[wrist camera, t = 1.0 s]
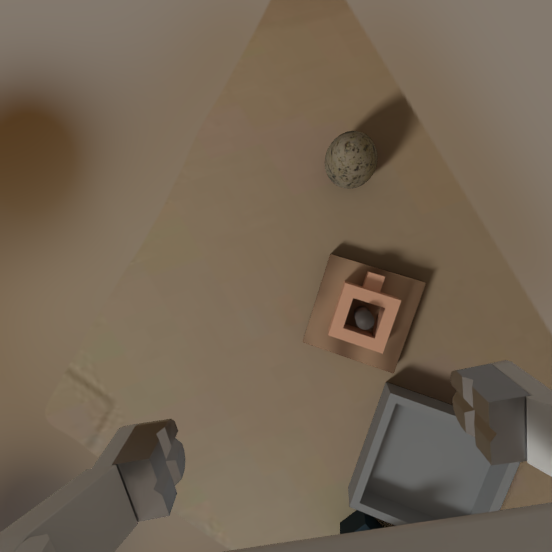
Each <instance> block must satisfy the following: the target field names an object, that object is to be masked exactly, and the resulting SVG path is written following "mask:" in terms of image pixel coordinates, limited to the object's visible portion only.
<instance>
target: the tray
mask: <svg viewBox="0 0 552 552" xmlns="http://www.w3.org/2000/svg"><path fill="white" fill-rule="evenodd" d="M519 464H520V462H515V463H507V464H499V465H491V464H490V463H489V461H488V460H487V459H486V458H485V456H484V455H483V454H482V453H481V451H480V450H479V449H478V448H477V446H476V442H475V437H473V436H471V435H469V434H467V433H466V432H465V431H464V430H463V428H462V427H461V426H460V424H459V422H458V420H457V418H456V415H455V412H454V409H453V405H451V404H448V403H445V402H442V401H439V400H436V399H433V398H431V397H428V396H425V395H422V394H419V393H416V392H413V391H411V390H408V389H405V388H402V387H399V386H396V385H394V384H391V383H388V382H386V383H385V386H384V389H383V392H382V395H381V397H380V400H379V403H378V406H377V409H376V411H375V414H374V417H373V420H372V423H371V425H370V428H369V431H368V434H367V437H366V439H365V442H364V445H363V448H362V451H361V453H360V456H359V459H358V462H357V465H356V467H355V470H354V473H353V476H352V479H351V481H350V484H349V487H348V491H349V507H351V508H354V509H356V510H359V511H361V512H363V513H366V514H368V515H371V516H373V517H376V518H378V519H380V520H383V521H385V522H388V523H390V524H393V525H395V526H399V525H406V524H412V523H419V522H426V521H432V520H439V519H446V518H452V517H459V516H466V515H472V514H479V513H486V512H492V511H499V510H500V508H501V506H502V504H503V501H504V499H505V497H506V494H507V492H508V489H509V487H510V485H511V482H512V480H513V478H514V475H515V473H516V471H517V468H518V466H519Z"/></svg>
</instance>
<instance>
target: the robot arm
mask: <svg viewBox="0 0 552 552" xmlns="http://www.w3.org/2000/svg"><path fill="white" fill-rule="evenodd" d="M451 385H452V386H453V387H454V388H455V389H456V390H457V391H456V393H455V394H454V396H453V398H452V401H453V409H454V412H455V415H456V418H457V420H458V422H459V424H460V426H461V427H462V428H463V430H464V431H465V432H466V433H467V434H469V435H471V436H473V437H475V442H476V446H477V448H478V449H479V450H480V451H481V453H482V454H483V455H484V456H485V458H486V459H487V460H488V461H489V463H490V464H491V465H499V464H507V463H515V462H523V461H527V463H529V464H531V465H532V466H534V467H536V468H538V469H539V470H541V471H543V472H544V473H546V474H548V475H550V476H551V477H552V390H550V389H549V388H548V387H546V386H545V385H543V384H542V383H541V382H539V381H538V380H536V379H535V378H534V377H532V376H531V375H529V374H528V373H527V372H525V371H524V370H522V369H521V368H520V367H518V366H517V365H515V364H514V363H513V362H511V361H507V360H504V361H499V362H494V363H490V364H486V365H481V366H476V367H471V368H465V369H460V370H455V371H452V372H451ZM177 432H178V429H177V426H176V424H175V421H174V420H172V419H166V420H159V421H153V422H146V423H140V424H133V425H127V426H123V427H121V428H119V429H118V431H117V432H116V434H115V435H114V437H113V438H112V440H111V441H110V443H109V444H108V446H107V447H106V448H105V450H104V451H103V453H102V454H101V456H100V457H99V459H98V460H97V462H96V463H95V465H94V466H93V468H92V469H88V470H85V471H84V472H82V473H81V474H80V475H78V476H77V477H76V478H74V479H73V480H72V481H70V482H69V483H67V484H66V485H65V486H63V487H62V488H61V489H59V490H58V491H56V492H55V493H54V494H52V495H51V496H50V497H48V498H47V499H46V500H44V501H43V502H42V503H40V504H39V505H37V506H36V507H35V508H33V509H32V510H30V511H29V512H28V513H26V514H25V515H24V516H22V517H21V518H19V519H18V520H17V521H16V522H14V523H13V524H11V525H10V526H9V527H7V528H6V529H4V530H3V531H2V532H0V552H114V551H115V550H116V549H117V548H118V547H119V545H120V544H121V543H122V542H123V541H124V540H125V539H126V537H127V536H128V535H129V534H130V533H131V531H132V530H133V529H134V528H135V527H136V525H137V524H138V522H139V521H145V520H150V519H155V518H160V517H166V516H169V515H170V512H171V509H172V506H173V503H174V500H175V498H176V495H177V492H176V489H175V485H176V484H177V483H178V482H179V481H180V480H181V479H182V476H183V473H184V469H185V453H184V448H183V445H182V443H181V442H180V441H178V440H177V439H176V438H175V437H176V434H177ZM224 552H552V503H546V504H539V505H532V506H526V507H519V508H512V509H506V510H499V511H492V512H486V513H479V514H472V515H466V516H459V517H452V518H446V519H439V520H432V521H426V522H419V523H412V524H406V525H399V526H392V527H385V528H378V529H372V530H365V531H358V532H351V533H345V534H338V535H331V536H324V537H318V538H311V539H304V540H297V541H291V542H284V543H277V544H270V545H264V546H257V547H250V548H244V549H237V550H231V551H224Z"/></svg>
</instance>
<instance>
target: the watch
mask: <svg viewBox="0 0 552 552" xmlns="http://www.w3.org/2000/svg"><path fill="white" fill-rule="evenodd" d="M378 528H383V527H382V525H381V524H380V523H379V522H378V521H377V520H376V519H375V518H374V517H373V516H371V515H368V514H366V513H363V512H361V511H359V510H357V511H355V512H354V513H353V514H351V515H350V516H349V517H347V518H346V519H345V520H343V521H342V522H341V523H340V534H345V533H351V532H358V531H365V530H372V529H378Z"/></svg>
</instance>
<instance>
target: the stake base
mask: <svg viewBox="0 0 552 552" xmlns="http://www.w3.org/2000/svg"><path fill="white" fill-rule="evenodd" d="M367 271H369V272H372V273H375V274H379V275H382V276H384V277H385V279H384V282H383V285H382V288H381V291H380V292H382V293H385V294H389V295H392V296H395V297H397V298H399V299H400V300H401V303H400V306H399V309H398V312H397V315H396V317H395V320H394V323H393V326H392V329H391V332H390V334H389V337H388V340H387V343H386V346H385V349H384V352H383V354H382V353H379V352H376V351H373V350H370V349H367V348H364V347H361V346H358V345H355V344H352V343H349V342H346V341H344V340H341V339H338V338H335V337H332V336H329V335H328V331H329V327H330V324H331V321H332V318H333V315H334V311H335V308H336V305H337V302H338V299H339V296H340V293H341V290H342V287H343V284H344V281H347V282H350V283H353V284H357V285H360V286H363V283H364V280H365V277H366V274H367ZM425 285H426V283H425V282H422V281H419V280H416V279H412V278H409V277H406V276H402V275H399V274H396V273H392V272H389V271H386V270H382V269H379V268H376V267H372V266H369V265H366V264H363V263H359V262H356V261H353V260H349V259H346V258H343V257H339V256H336V255H333V254H330V257H329V260H328V263H327V266H326V269H325V273H324V276H323V279H322V282H321V285H320V288H319V291H318V295H317V298H316V301H315V304H314V307H313V310H312V313H311V317H310V320H309V323H308V326H307V329H306V332H305V335H304V339H303V342H304V343H307V344H310V345H312V346H315V347H318V348H321V349H324V350H327V351H330V352H333V353H336V354H339V355H341V356H344V357H347V358H350V359H353V360H356V361H359V362H362V363H365V364H367V365H370V366H373V367H376V368H379V369H382V370H385V371H388V372H391V373H394V371H395V368H396V366H397V363H398V360H399V357H400V354H401V352H402V349H403V346H404V343H405V340H406V338H407V335H408V332H409V329H410V326H411V324H412V321H413V318H414V315H415V313H416V310H417V307H418V304H419V301H420V299H421V296H422V293H423V290H424V287H425ZM380 308H381V307H380V306H377V305H374V304H371V303H367V302H364V301H361V300H358V299H355V298H353V300H352V303H351V306H350V309H349V312H348V315H347V318H346V321H345V324H348V325H351V326H354V327H357V328H360V329H363V330H366V331H369V332H372V331H373V328H374V325H375V322H376V319H377V316H378V313H379V311H380Z"/></svg>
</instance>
